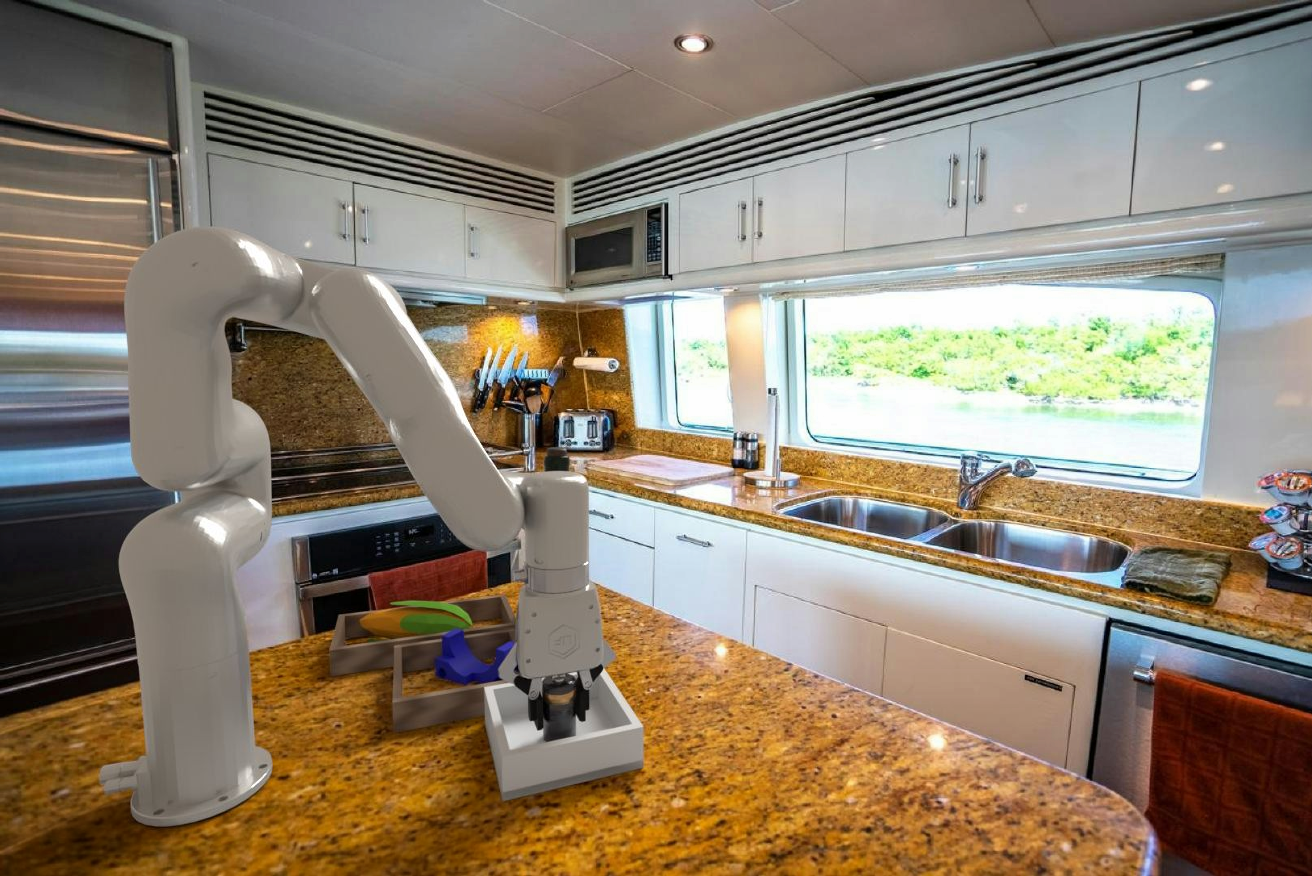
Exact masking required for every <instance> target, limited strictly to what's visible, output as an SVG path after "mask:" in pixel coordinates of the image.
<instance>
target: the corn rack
mask: <svg viewBox="0 0 1312 876" xmlns="http://www.w3.org/2000/svg"><path fill="white" fill-rule="evenodd" d="M442 602H443V603H447V604H452V605H456V606H459V607H460V608H461V609H462V610H464V611H465V612H466V613H467V614H468V615H469V617H470V619H471V621H472V623H473V622H478V621H487V620H494V619H501V621H502V623H501V624H493V625H485V626H479V627H473V628H471V629H463V631H464V636H465V635H472V634H479V633H486V632H493V631H500V630H507V629H515V626H516V616H515V615H516V614H515V613H514V611H513V608H512V606H511V603H510V602H509V600H508V597H507V596H506V594H499V595H498V594H497V595H490V596H482V597H475V598H467V599H466V598H465V599H458V600H456V599H455V600H450V601H442ZM403 607H404V606H400V607H398V608H403ZM406 607H419V606H408V605H406ZM395 608H396V607H392V608H390V607H389V609H395ZM387 609H388V608H385V609H376V610H375V609H374V610H368V611H359V612H350V613H343V614H338V616H337V620H336V625H335V628H334V632H333V636H332V640H331V642H330V646H329V650H328V651H329V668H330V669H329V670H330V673H329V674H330V677H335V676H341V675H347V674H354V673H361V672H369V671H374V670H381V669H388V668H394V645H401V644H408V643H415V642H422V641H429V640H436V639H442V635H444V634H446V633H448V632H442V633H434V634H427V635H420V636H413V637H406V638H398V639H389V640H384V641H377V642H365V643H363V642H362V643H357V644H355V643H354V644H350V645H349V644H348V645H346V640H347V639H355V638H362V637H369V636H376V635H375V634H373V633H372V632H370V631H368V630H367V629H365V628H363V627H362V626H361V625H360V619H362V618H364V617H365V616H367V615H368V614H370V613H372V612H377V611H382V610H387ZM449 632H450V631H449Z"/></svg>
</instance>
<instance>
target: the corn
mask: <svg viewBox="0 0 1312 876" xmlns="http://www.w3.org/2000/svg"><path fill="white" fill-rule="evenodd" d="M443 602H444V601H436V600H435V601H432V600H431V601H430V600H403V601H393V602H390V603H389V604H390V605H392V606H402V607H403V608H399V607H394V608H395V609H390V608H386V609H387V610H382V609H381V610H382V611H377V612H372V613H370V614H368V615H367V616H365V617H364V618H362V619H360V625H361V626H362V627H363V628H365V629H367V630H368V631H370V632H372V633H373V634H375V635H374V636H378V637H382V638H372V637H371V638H367V643H370V642H377V641H384V640H391V639H398V638H406V637H413V636H420V635H427V634H434V633H442V632H449V631H452V630H454V629H461V630H463V629H471V628H474V627H473V622H472V621H471V619H470V617H469V615H468V614H467V613H466V612H465V611H464V610H462V609H461V608H460V607H459V606H456V605H452V604H447V603H443ZM407 606H419V607H407Z"/></svg>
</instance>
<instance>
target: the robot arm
mask: <svg viewBox="0 0 1312 876" xmlns="http://www.w3.org/2000/svg"><path fill="white" fill-rule="evenodd" d="M125 284H126V285H125V289H124V298H123V299H124V300H123V301H124V302H123V303H124V304H123V307H124V308H123V309H124V311H123V312H124V321H125V323H124V324H125V331H126V332H125V333H126V345H127V365H128V367H127V368H128V370H127V384H128V385H127V386H128V411H129V413H128V414H129V433H130V434H129V437H130V456H131V461H132V464H133V467H134V469H135V472H136V473H137V475H138V476H139V477H140V478H141V479H142V481H144V482H145V483H147V484H148V485H149V486H151V487H153V488H156V489H157V490H160V491H165V492H166V491H167V492H173V493H174V492H175V493H179V492H180V501H178V502H176V503H173V504H170V505H168V506H165V507H163V508H160V509H158V510H156V511H155V512H153V513H151V514H149V515H147V516H146V517H144V518H143V519H142V520H140V521H139V522H137V524H136V525H135V526H134V527H133V528H132V529H131V531H130V532H128V534H127V536H126V537H125V539H124V541H123V543H122V545H121V548H120V550H119V551H120V552H119V555H118V556H119V557H118V570H119V571H118V572H119V575H120V581H121V583H122V587H123V591H124V592H125V595H126V599H127V602H128V605H129V609H130V613H131V617H132V621H133V622H132V623H133V630H134V635H135V636H134V637H135V645H136V656H137V664H138V673H139V684H140V696H141V707H142V718H143V719H142V721H143V731H144V743H145V753H146V754H145V755H141V756H139V757H138V758H137V760H132V761H127V762H126V761H122V762H116V763H111V764H106V765H103V766H102V767H101V769H100V771H99V775H98V781H99V783H98V784H99V785H100V786H104V787H103V794H104V795H106V796H107V795H112V794H116V793H122V792H124V791H128V790H132V791H133V793H132V796H131V798H130V813H131V815H132V817H133V819H135V821H137V822H138V823H141V824H142V825H145V826H152V827H173V826H175V827H176V826H182V825H186V824H191V823H196V822H198V821H199V822H200V821H202V820H206V819H209V818H212V817H214V816H217V815H218V814H221V813H224V812H225V811H228V810H230V809H232V808H234V807H236V806H238V805H239V804H241V803H243V802H244V801H246V800H247V799H249V798H250V797H251V796H253V795H254V794H256V793H257V791H259V790H260V789H261V788H262V787H263V786H264V785H265V784H266V782H267V781H268V780H269V778H271V774H272V771H273V757H272V755H271V753H270V752H269V751H268V750H266V749H265V748H264V747H260V746H258V745H256V741H255V739H256V738H255V725H254V724H255V723H254V710H253V709H254V708H253V693H252V680H251V677H252V676H251V662H250V660H251V659H250V648H249V647H250V646H249V645H250V644H249V638H248V637H249V635H248V626H247V625H248V621H247V617H246V616H247V615H246V610H245V606H244V601H243V599H242V596H241V594H240V591H239V587H238V584H237V583H238V582H237V579H236V577H237V576H236V572H237V571H239V569H240V568H241V567H243V566H244V565H246V564H247V563H248V562H250V561H251V560H253V559H254V558H255V557H256V556H257V555H258V554H259V553H260V552H261V551H262V550H263V549H264V547H265V545H266V544H267V542H268V540H269V538H270V534H271V530H272V522H273V521H272V518H273V517H272V515H273V505H272V503H273V502H272V500H273V499H272V459H271V457H272V456H271V455H272V454H271V442H270V437H269V436H270V435H269V433H268V429H267V427H266V424H265V423H264V421H263V419H262V418H261V416H260V415H259V413H258V412H257V411H255V410H254V409H253V408H252V407H251V406H249V405H248V404H246V403H244V402H242V401H240V400H238V399H235V398H233V387H232V378H233V376H232V375H233V367H232V366H233V365H232V357H231V351H230V348H229V344H228V341H227V338H226V331H225V328H226V327H225V326H226V323H227V321H228V320H229V319H231V318H236V319H241V320H246V321H252V322H256V323H261V324H265V325H269V326H273V327H277V328H280V329H281V328H282V329H285V330H289V331H292V332H296V333H300V334H303V335H308V336H310V337H314V338H318V339H322V340H325V342H326V343H327V345H328V346H329V347H330V348H331V350H332V351H333V353H334V354H335V356H336V357H337V358H338V360H339V361H340V363H341V364H342V365H343V367H344V368H345V369H346V370H347V372H348V374H349V375H350V377H351V378H352V379H353V381H354V382H355V384H356V385H357V386H358V388H359V389H360V391H362V393H363V395H364V397H365V398H366V399H367V401H368V402H369V403H370V405H371V406H372V408H373V409H374V410H375V412H376V413H377V415H378V416H379V418H380V420H382V422H383V424H384V426H385V428H386V430H387V432H388V435H389V436H390V438H391V441H392V443H394V445H395V446H396V448H397V450H398V451H399V453H400V455H401V458H402V459H403V460H404V463H405V464H406V466H407V469H408V470H409V472H410V474H411V476H412V477H413V479H414V480H415V482H416V483H417V485H418V487H419V488H420V490H421V492H422V493H423V495H424V496H425V498H427V500H428V502H429V503H430V504H431V506H432V507H433V508H434V510H435V511H436V513H437V514H438V516H440V518H441V519H442V521H443V522H444V524H445V525H446V526H447V528H448V529H449V530H450V531H451V533H452V534H453V536H455V537H456V539H457V540H459V541H460V542H461V543H462V544H463V545H465V546H466V547H468V548H470V549H472V550H475V551H478V552H487V553H488V552H495V551H498V550H502V549H504V548H506V547H507V546H509V545H510V544H511V543H513V542H514V541H515V539H516V538H517V537H518V536H519V533H520V532H521V530H524V547H525V548H524V552H525V558H524V559H525V560H524V561H523V563H524V564H523V565H522V568H519V569H517V570H516V569H515V570H513V571H512V579H513V582H515V583H517V582H518V583H523V585H522V586H521V587H520V589H519V595H518V600H517V606H516V607H517V608H516V614H515V615H516V616H515V617H516V626H515V645H514V646H513V648H512V649H511V651H510V652H509V653H508V655H507V656H506V658H505V659H504V661H503V662H502V664H501V665H500V667H499V668H498V674H499V677H500V678H501V679H503V680H505V681H507V682H509V683H512V684H514V685H515V686H516V687H517V688H518V689H520V690H521V691H522V692H524V693H525V694H526V695H528V716H529V720H530V721H534V723H535V726H536V728H537V731H539V730H542V729H543V728H544V723H543V698H542V695H541V693H540V687H541V682H542V678H544V677H550V676H556V675H562V674H568V673H573V672H577V676H578V677H577V679H576V715H577V717H578V719H579V721H581V722H584V721H586V710H589V689H591V688H592V686H593V682H594V681H595V679H596V678H597V677H598V676H599V675H600V674H601V672H602V671H603V669H605V668H607V667H608V666H609V665H610V664H611V663H612V662H614V660H616V658H617V654H616V653H615V651H614V650H613V649H612V647H611V645H609V644H608V642H607V641H606V640H605V639H604V636H603V635H604V634H603V633H604V632H603V622H602V613H601V605H600V604H601V603H600V599H599V593H598V588H597V585H596V584H595V583H594V582H593V581H592V580H590V497H589V496H590V494H589V493H590V492H589V490H590V488H589V482H588V480H587V478H586V477H585V476H584V475H583V474H581V473H578V472H575V471H570V470H569V471H548V472H544V471H542V472H537V473H532V472H531V473H530V472H519V471H518V472H517V471H511V470H510V471H509V470H501V469H498V468H497V467H496V465H495V463H494V462H493V460H492V459H491V458H490V456H489V455H488V453H487V451H486V449H484V447H483V445H482V444H481V442H480V440H479V439H478V436H477V435H476V434H475V432H474V430H473V429H472V427H471V425H470V422H469V421H468V418H467V416H466V414H465V411H464V408H463V405H462V401H461V399H460V396H459V393H458V390H457V388H456V386H455V384H454V383H453V380H452V379H451V377H450V376H449V374H448V373H447V372H446V370H445V369H444V367H443V365H441V363H440V361H439V360H438V358H437V357H436V356H435V354H434V353H433V352H432V350H431V349H430V346H429V345H428V344H427V343H426V341H425V340H424V339H423V337H422V335H421V333H420V332H419V330H418V329H417V328H416V326H415V325H414V323H413V321H412V320H411V318H410V316H409V315H408V313H407V308H406V304H405V302H404V300H403V297H402V296H401V295H400V294H399V292H398V290H396V289H395V288H394V287H393V286H392V285H391V284H389V283H388V282H386V281H385V280H384V279H382V278H381V277H379V276H378V275H376V274H375V273H372V272H371V271H369V270H366V269H361V268H354V267H348V268H340V269H335V268H331V267H328V266H325V265H321V264H318V263H315V262H312V261H309V260H306V259H302V258H299V257H297V256H293V255H290V254H288V253H284V252H281V251H279V250H277V249H276V248H273V247H271V246H270V245H267V244H266V243H264V242H262V241H260V240H258V239H257V238H255V237H253V236H251V235H248V234H246V233H245V232H244V233H243V232H241V231H237V230H234V229H231V228H226V227H221V226H212V225H211V226H194V227H188V228H185V229H181V230H177V231H174V232H172V233H170V234H168V235H165V236H164V237H162V238H160V239H158V240H157V241H155V242H154V243H152V244H151V245H150V246H148V247H147V249H145V251H143V252H142V253H141V254H140V256H139V257H138V258H137V259H136V261H135V263H134V264H133V266H132V268H131V270H130V272H129V275H128V277H127V280H126V283H125ZM517 664H518V668H519V671H520V672H517V671H516V670H514V668H515V667H516V665H517Z"/></svg>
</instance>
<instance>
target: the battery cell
mask: <svg viewBox="0 0 1312 876" xmlns="http://www.w3.org/2000/svg"><path fill="white" fill-rule="evenodd" d="M542 698H543V723H544V728H543V739H544V740H545V741H546V742H550V741H555V740H559V739H564V738H569V737H573V736H576V679H575V677H574V676H573V675H570V674H562V675H556V676H550V677H545V678H544V679H543V681H542Z"/></svg>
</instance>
